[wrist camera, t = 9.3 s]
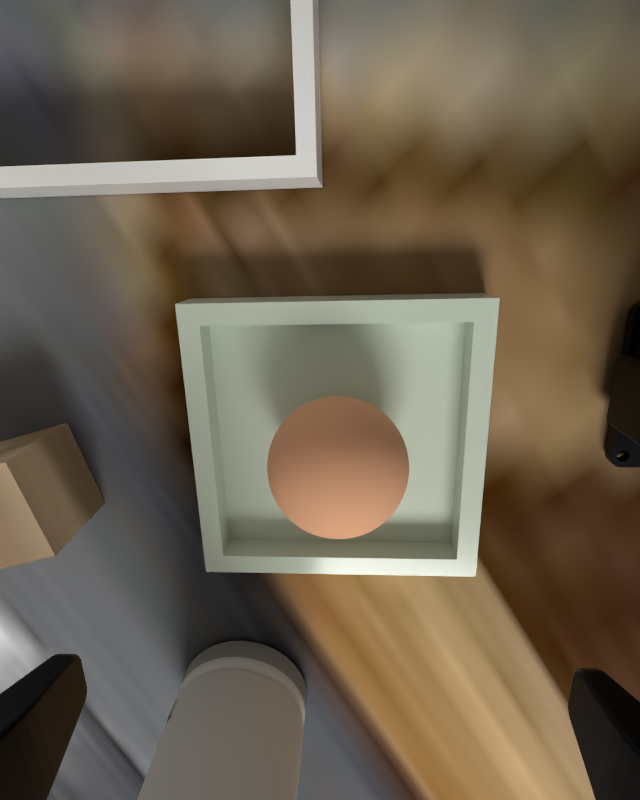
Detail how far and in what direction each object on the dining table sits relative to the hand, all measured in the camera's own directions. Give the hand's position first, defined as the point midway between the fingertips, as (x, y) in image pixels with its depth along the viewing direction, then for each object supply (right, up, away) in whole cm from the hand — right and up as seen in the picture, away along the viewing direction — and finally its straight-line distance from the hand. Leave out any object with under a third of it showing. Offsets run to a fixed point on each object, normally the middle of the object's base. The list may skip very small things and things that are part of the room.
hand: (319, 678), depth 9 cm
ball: (+1, +3, +11) cm, 11 cm away
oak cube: (-12, +2, +13) cm, 18 cm away
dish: (+1, +4, +11) cm, 12 cm away
